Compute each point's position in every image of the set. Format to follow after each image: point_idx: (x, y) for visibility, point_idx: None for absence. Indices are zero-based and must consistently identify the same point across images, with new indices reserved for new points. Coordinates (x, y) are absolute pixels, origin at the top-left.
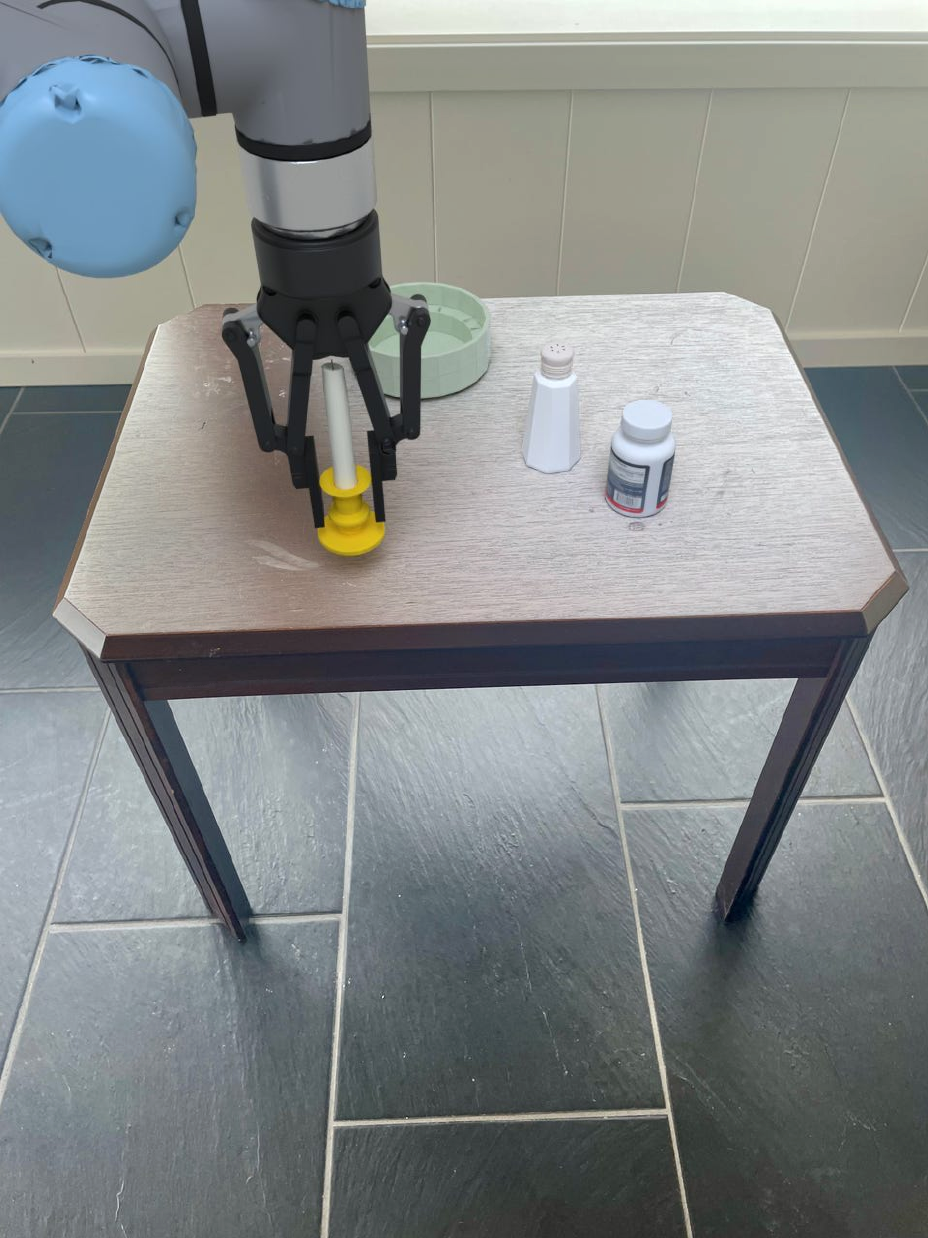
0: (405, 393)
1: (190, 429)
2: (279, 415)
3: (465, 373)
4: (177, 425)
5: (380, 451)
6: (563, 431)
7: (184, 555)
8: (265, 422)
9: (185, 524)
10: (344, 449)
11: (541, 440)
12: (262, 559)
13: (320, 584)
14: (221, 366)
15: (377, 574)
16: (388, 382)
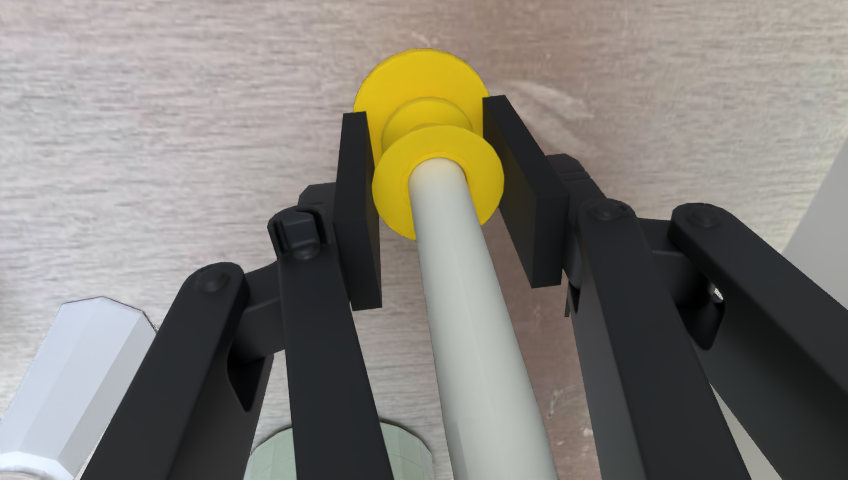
0: (176, 423)
1: None
2: None
3: (266, 459)
4: None
5: (324, 214)
6: (40, 366)
7: (702, 123)
8: (757, 279)
9: (686, 191)
10: (445, 232)
11: (92, 349)
12: (577, 110)
13: (479, 41)
14: (593, 448)
15: (372, 64)
16: None
